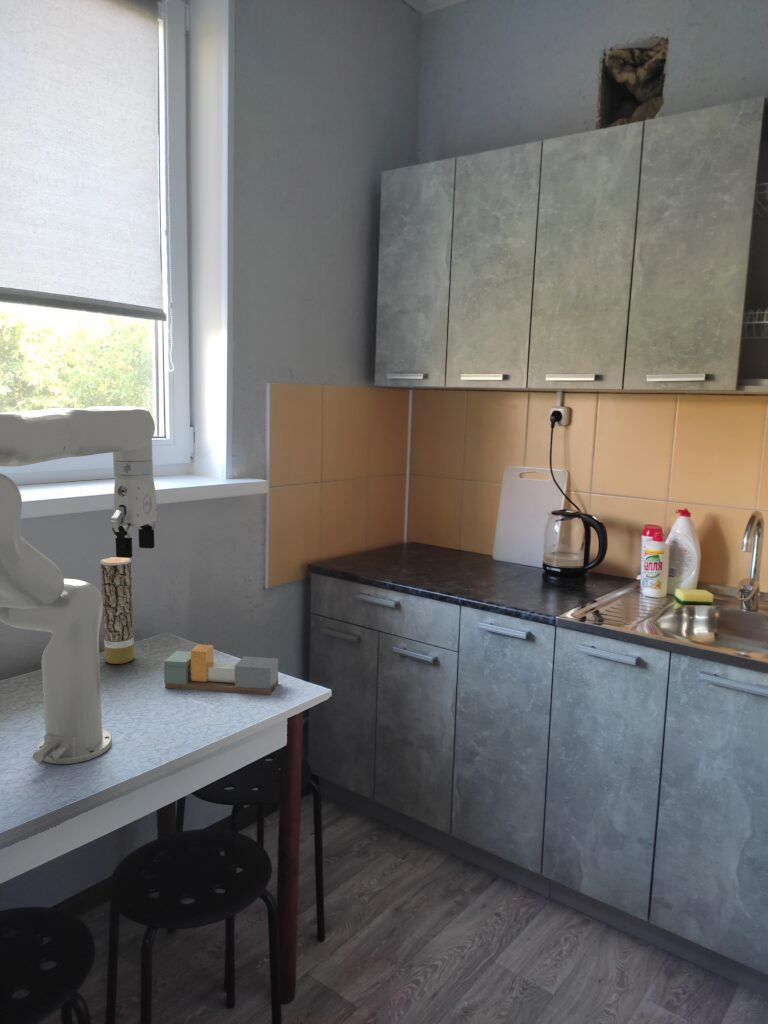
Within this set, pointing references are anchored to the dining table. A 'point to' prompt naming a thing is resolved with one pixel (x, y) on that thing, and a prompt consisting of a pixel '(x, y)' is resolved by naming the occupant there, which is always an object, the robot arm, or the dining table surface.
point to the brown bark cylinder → (117, 610)
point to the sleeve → (256, 672)
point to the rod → (209, 666)
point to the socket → (177, 667)
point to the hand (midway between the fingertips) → (135, 552)
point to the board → (220, 687)
